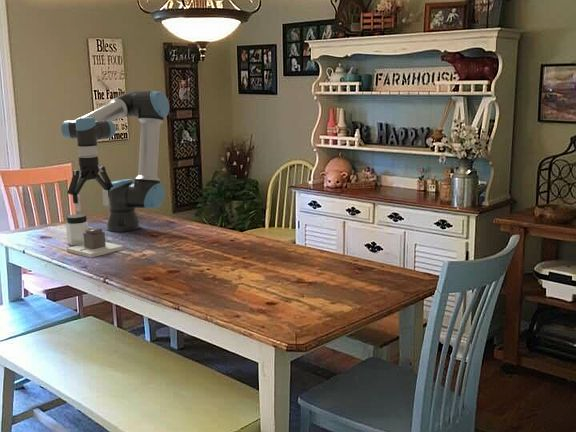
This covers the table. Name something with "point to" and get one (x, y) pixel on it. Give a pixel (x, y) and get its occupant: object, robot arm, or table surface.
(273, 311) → the table surface
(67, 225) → the jar
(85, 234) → the brown box
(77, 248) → the board
